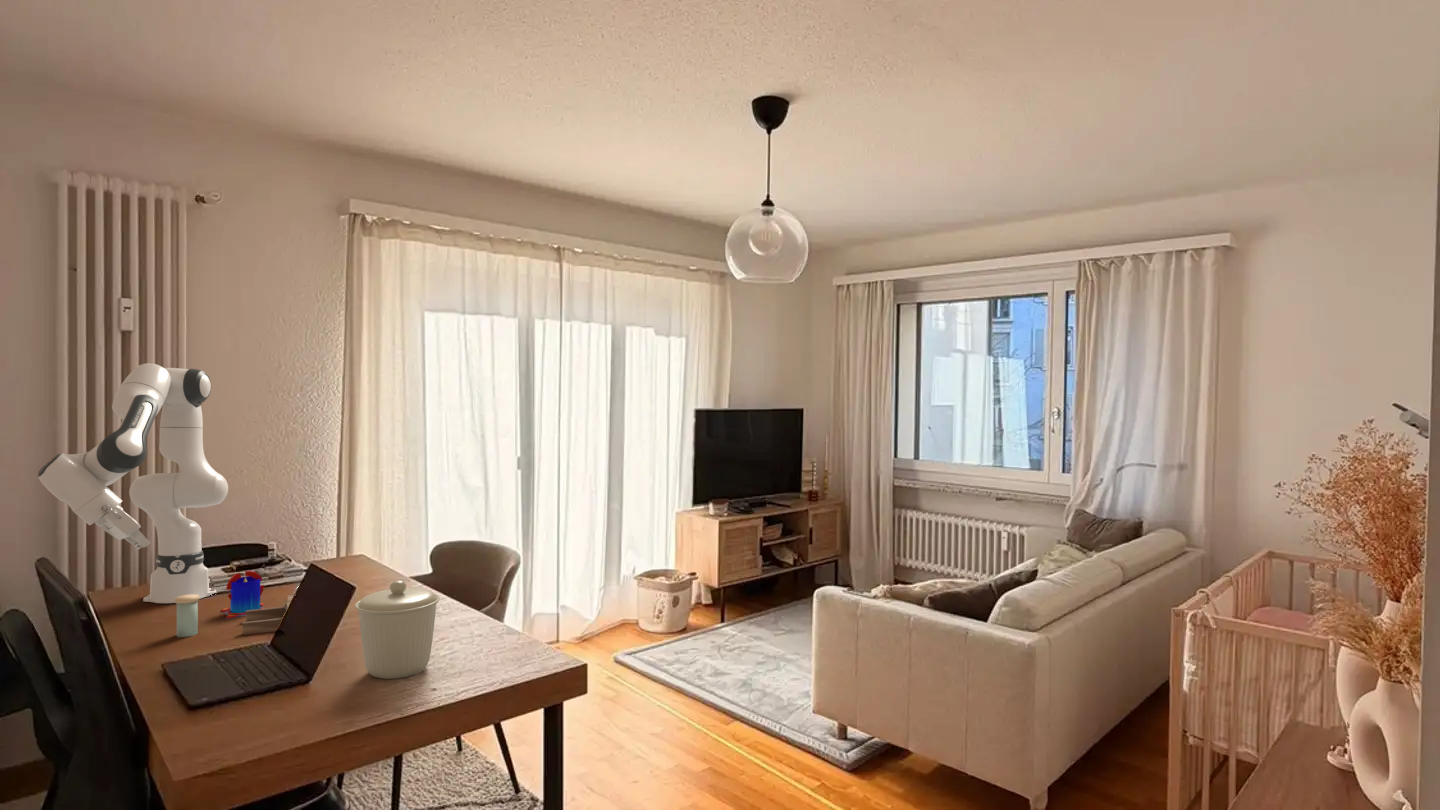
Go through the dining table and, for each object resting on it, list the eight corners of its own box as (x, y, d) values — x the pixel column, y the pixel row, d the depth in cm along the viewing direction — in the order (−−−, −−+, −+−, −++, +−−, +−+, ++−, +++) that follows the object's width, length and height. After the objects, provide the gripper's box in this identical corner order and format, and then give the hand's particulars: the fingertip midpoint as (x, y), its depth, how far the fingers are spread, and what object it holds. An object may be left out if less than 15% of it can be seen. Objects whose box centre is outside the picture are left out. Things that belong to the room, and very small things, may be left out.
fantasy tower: (225, 620, 219) (225, 577, 219) (218, 611, 228) (218, 570, 228) (272, 612, 227) (272, 571, 227) (264, 604, 236) (263, 564, 236)
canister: (387, 692, 167) (387, 595, 167) (338, 675, 177) (338, 583, 177) (456, 667, 183) (456, 578, 182) (407, 653, 192) (407, 568, 192)
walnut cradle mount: (246, 620, 219) (246, 598, 219) (294, 614, 225) (294, 594, 224) (242, 636, 205) (242, 613, 205) (293, 629, 210) (293, 607, 210)
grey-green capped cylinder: (176, 633, 207) (176, 595, 207) (200, 630, 210) (200, 593, 209) (173, 638, 202) (173, 600, 202) (198, 635, 205) (198, 598, 205)
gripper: (117, 496, 192) (162, 535, 197) (108, 503, 207) (150, 539, 212) (92, 514, 188) (139, 553, 193) (85, 520, 203) (128, 556, 208)
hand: (145, 546), depth 203 cm, fingers open, 8 cm apart
